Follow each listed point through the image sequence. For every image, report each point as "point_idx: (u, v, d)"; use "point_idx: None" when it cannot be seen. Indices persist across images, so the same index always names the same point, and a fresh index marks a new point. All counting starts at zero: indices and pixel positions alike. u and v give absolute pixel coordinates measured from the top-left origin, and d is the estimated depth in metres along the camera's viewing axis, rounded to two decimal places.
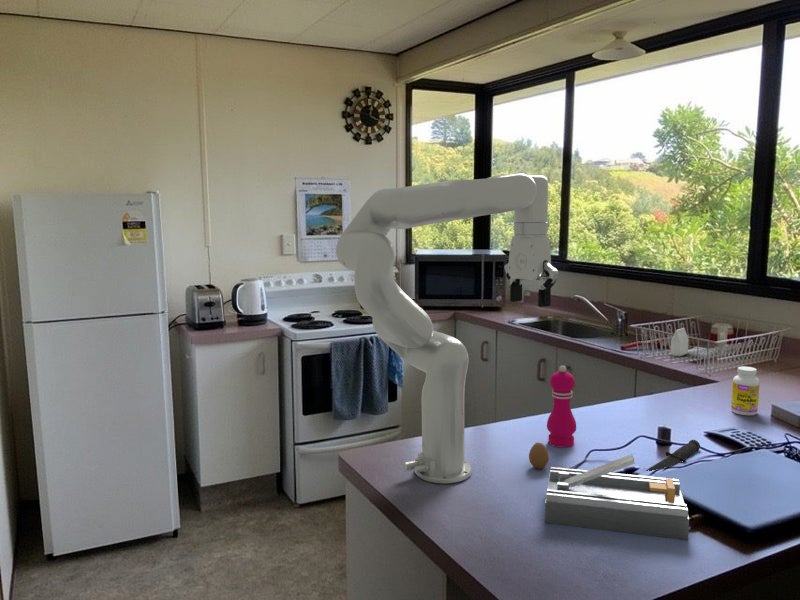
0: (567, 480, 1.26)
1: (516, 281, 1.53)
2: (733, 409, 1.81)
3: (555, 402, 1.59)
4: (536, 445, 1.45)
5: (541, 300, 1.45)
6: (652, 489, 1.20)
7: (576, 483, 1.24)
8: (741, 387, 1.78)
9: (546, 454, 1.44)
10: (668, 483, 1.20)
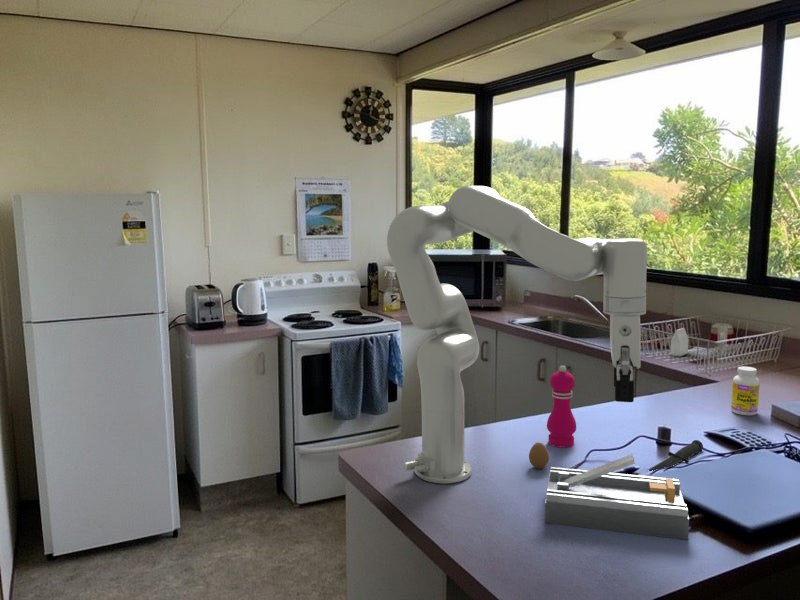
0: (567, 480, 1.26)
1: None
2: (733, 409, 1.81)
3: (555, 402, 1.59)
4: (536, 445, 1.45)
5: None
6: (652, 489, 1.20)
7: (576, 483, 1.24)
8: (741, 387, 1.78)
9: (546, 454, 1.44)
10: (668, 483, 1.20)
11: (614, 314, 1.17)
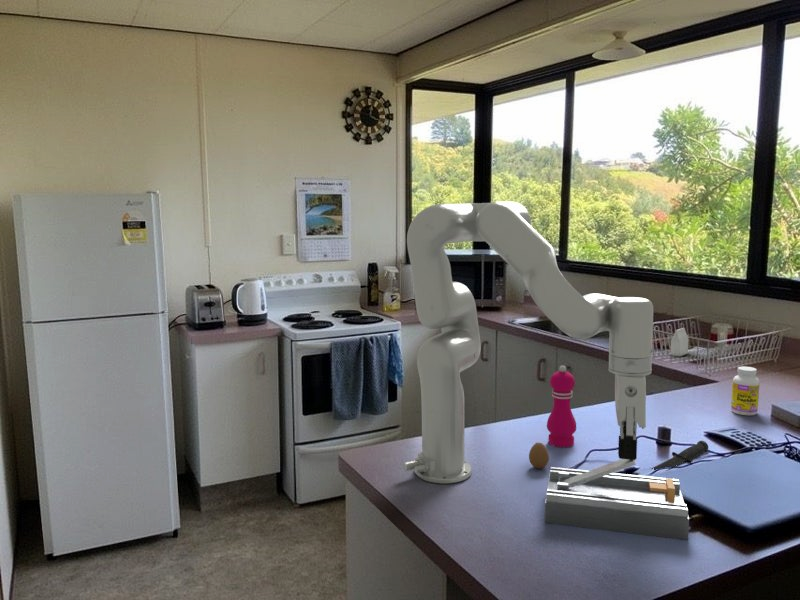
0: (567, 480, 1.26)
1: None
2: (733, 409, 1.81)
3: (555, 402, 1.59)
4: (536, 445, 1.45)
5: None
6: (652, 489, 1.20)
7: (576, 483, 1.24)
8: (741, 387, 1.78)
9: (546, 454, 1.44)
10: (668, 483, 1.20)
11: (620, 374, 1.17)
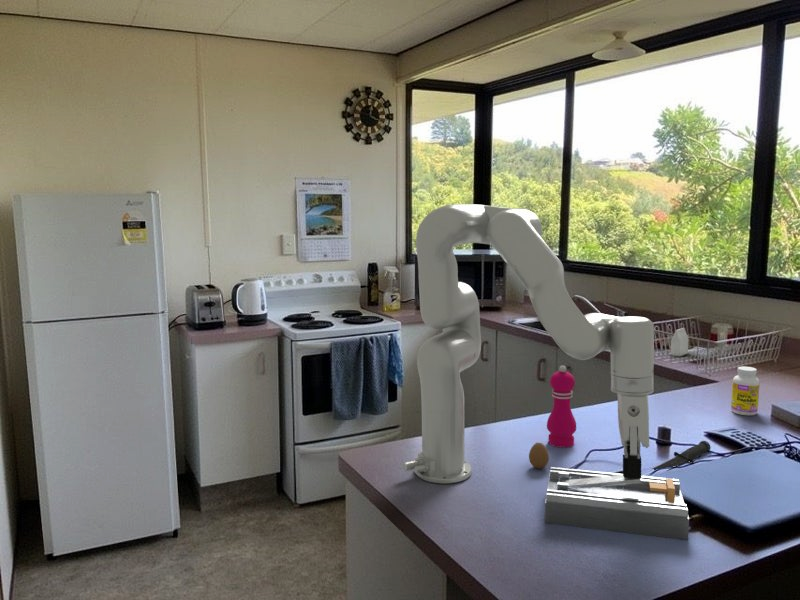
0: (568, 482, 1.26)
1: None
2: (733, 409, 1.81)
3: (555, 402, 1.59)
4: (536, 445, 1.45)
5: None
6: (652, 489, 1.20)
7: (578, 487, 1.24)
8: (741, 387, 1.78)
9: (546, 454, 1.44)
10: (668, 483, 1.20)
11: (622, 393, 1.17)
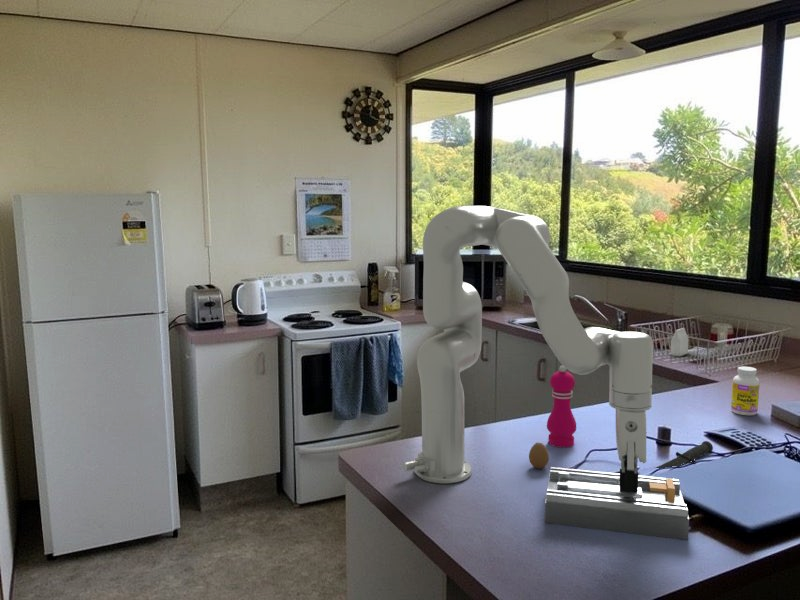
0: (569, 483, 1.26)
1: None
2: (733, 409, 1.81)
3: (555, 402, 1.59)
4: (536, 445, 1.45)
5: None
6: (652, 489, 1.20)
7: (578, 490, 1.24)
8: (741, 387, 1.78)
9: (546, 454, 1.44)
10: (668, 483, 1.20)
11: (620, 409, 1.18)
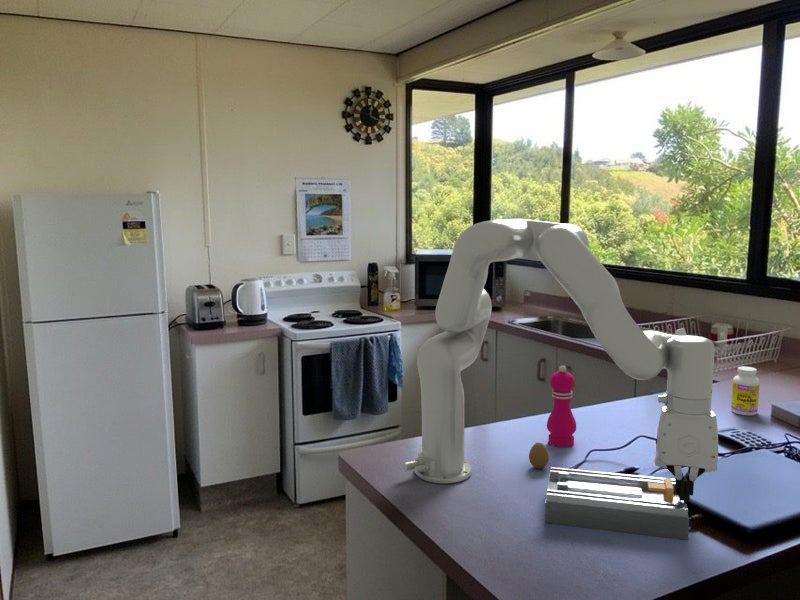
0: (569, 483, 1.26)
1: None
2: (733, 409, 1.81)
3: (555, 402, 1.59)
4: (536, 445, 1.45)
5: None
6: (651, 488, 1.20)
7: (578, 490, 1.24)
8: (741, 387, 1.78)
9: (546, 454, 1.44)
10: (667, 483, 1.20)
11: None
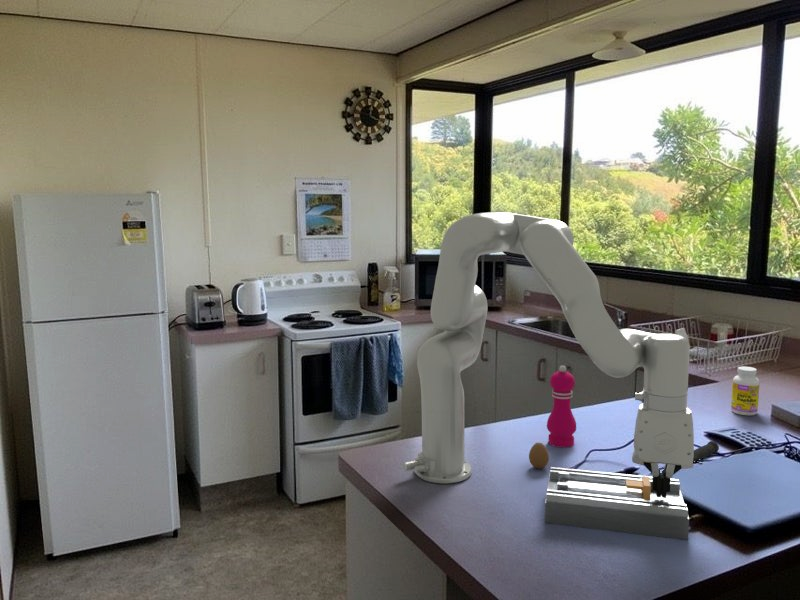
0: (569, 483, 1.26)
1: None
2: (733, 409, 1.81)
3: (555, 402, 1.59)
4: (536, 445, 1.45)
5: None
6: (628, 486, 1.21)
7: (578, 490, 1.24)
8: (741, 387, 1.78)
9: (546, 454, 1.44)
10: (644, 481, 1.21)
11: None
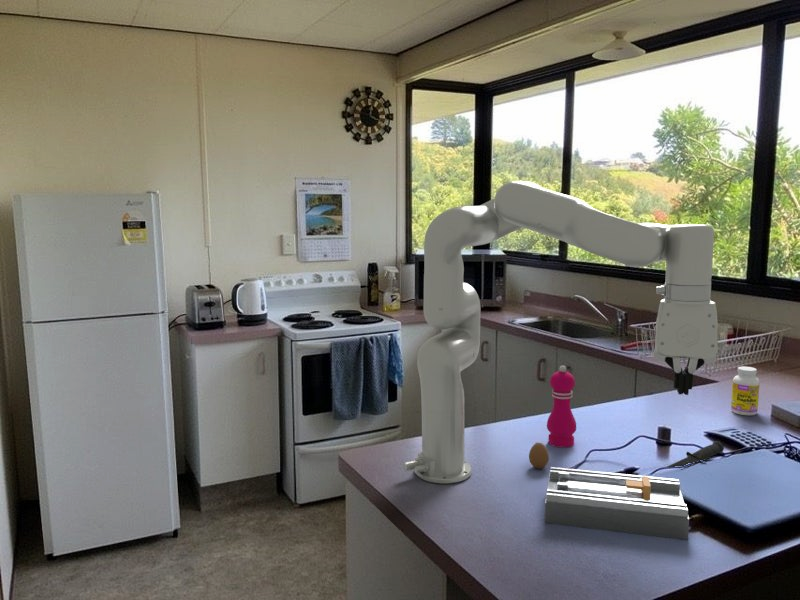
0: (569, 483, 1.26)
1: None
2: (733, 409, 1.81)
3: (555, 402, 1.59)
4: (536, 445, 1.45)
5: None
6: (628, 486, 1.21)
7: (578, 490, 1.24)
8: (741, 387, 1.78)
9: (546, 454, 1.44)
10: (644, 481, 1.21)
11: None
